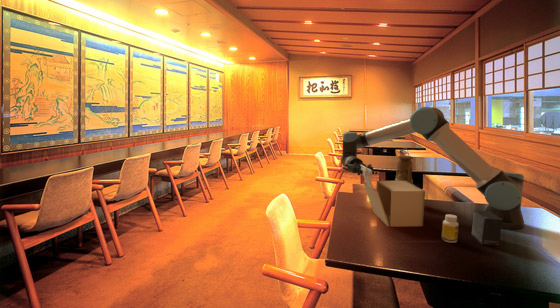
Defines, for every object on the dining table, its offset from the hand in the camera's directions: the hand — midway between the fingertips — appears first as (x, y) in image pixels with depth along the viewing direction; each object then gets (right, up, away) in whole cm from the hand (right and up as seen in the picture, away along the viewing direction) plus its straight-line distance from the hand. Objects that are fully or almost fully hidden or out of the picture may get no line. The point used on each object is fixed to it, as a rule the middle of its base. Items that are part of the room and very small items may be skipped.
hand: (368, 173), depth 137 cm
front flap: (+8, -21, +9) cm, 24 cm away
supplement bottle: (+27, -25, -14) cm, 40 cm away
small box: (+41, -25, -14) cm, 50 cm away
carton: (+16, -22, +9) cm, 28 cm away
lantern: (+28, -18, +36) cm, 50 cm away
